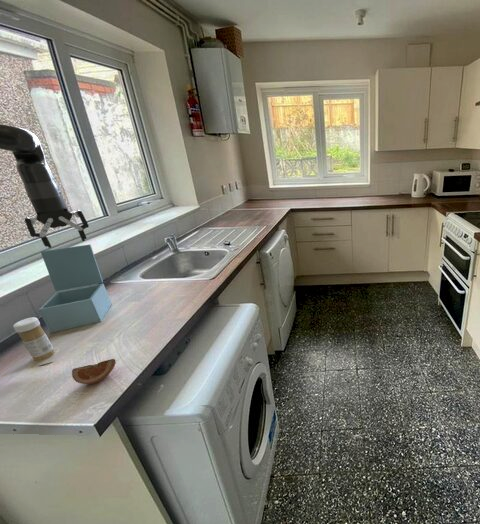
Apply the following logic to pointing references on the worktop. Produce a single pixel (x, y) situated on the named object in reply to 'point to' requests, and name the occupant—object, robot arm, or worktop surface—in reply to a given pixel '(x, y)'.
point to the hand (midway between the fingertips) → (67, 243)
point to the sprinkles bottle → (34, 339)
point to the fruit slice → (93, 372)
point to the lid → (72, 267)
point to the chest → (75, 307)
